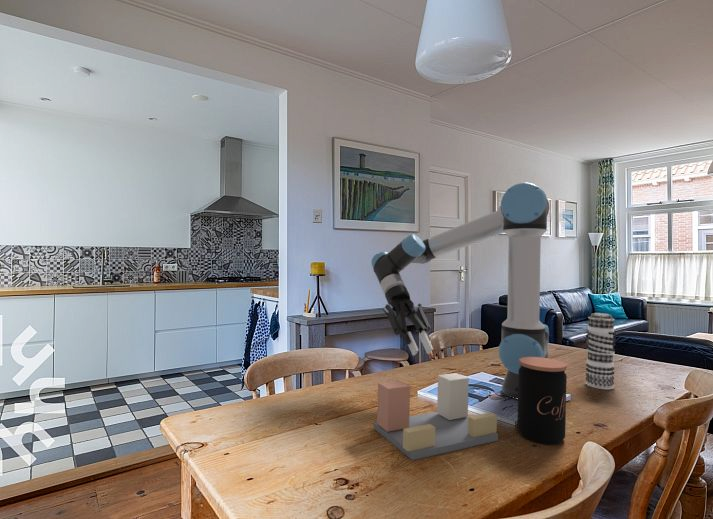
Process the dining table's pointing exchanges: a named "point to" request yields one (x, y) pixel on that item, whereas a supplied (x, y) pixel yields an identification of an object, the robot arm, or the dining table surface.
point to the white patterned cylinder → (600, 351)
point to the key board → (441, 434)
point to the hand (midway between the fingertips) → (423, 352)
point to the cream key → (452, 396)
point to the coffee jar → (542, 399)
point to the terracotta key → (393, 405)
